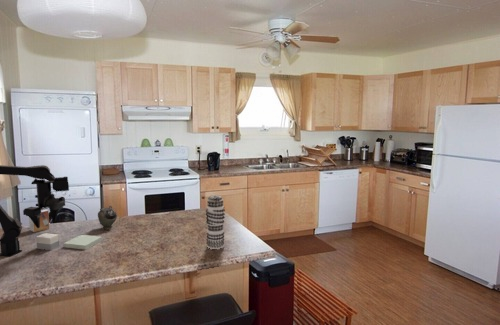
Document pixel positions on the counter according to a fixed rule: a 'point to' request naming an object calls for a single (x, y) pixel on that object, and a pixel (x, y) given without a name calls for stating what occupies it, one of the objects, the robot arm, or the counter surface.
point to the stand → (83, 242)
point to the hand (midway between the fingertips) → (46, 224)
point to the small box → (41, 222)
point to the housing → (47, 241)
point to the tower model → (215, 222)
